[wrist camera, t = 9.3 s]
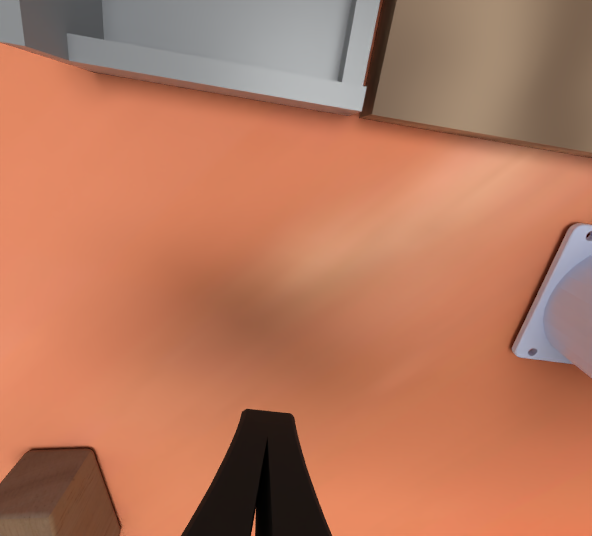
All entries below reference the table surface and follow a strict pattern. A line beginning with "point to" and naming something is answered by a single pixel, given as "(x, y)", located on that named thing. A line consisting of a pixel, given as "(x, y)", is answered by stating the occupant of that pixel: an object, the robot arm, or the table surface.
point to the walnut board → (486, 70)
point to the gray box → (210, 44)
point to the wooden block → (56, 496)
